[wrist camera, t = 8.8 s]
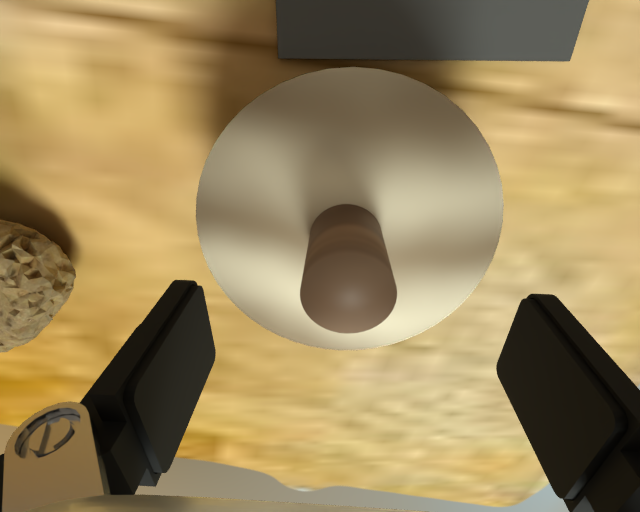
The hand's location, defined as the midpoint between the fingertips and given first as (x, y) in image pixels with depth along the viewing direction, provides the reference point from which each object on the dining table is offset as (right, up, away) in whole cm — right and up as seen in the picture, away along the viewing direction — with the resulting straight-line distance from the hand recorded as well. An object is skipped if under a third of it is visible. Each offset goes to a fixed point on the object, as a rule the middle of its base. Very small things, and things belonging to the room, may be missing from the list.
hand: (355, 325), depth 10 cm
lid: (0, +3, +8) cm, 8 cm away
